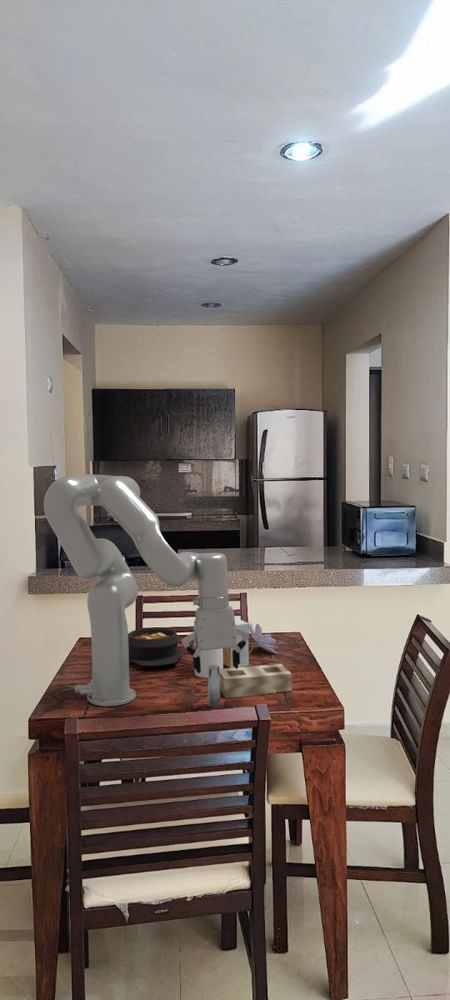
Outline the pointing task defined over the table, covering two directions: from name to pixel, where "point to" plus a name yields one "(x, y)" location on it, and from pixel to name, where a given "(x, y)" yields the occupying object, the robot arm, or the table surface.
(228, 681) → the hole block
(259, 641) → the water lily
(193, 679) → the table surface
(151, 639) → the casserole
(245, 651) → the small box
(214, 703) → the peg
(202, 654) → the cup
